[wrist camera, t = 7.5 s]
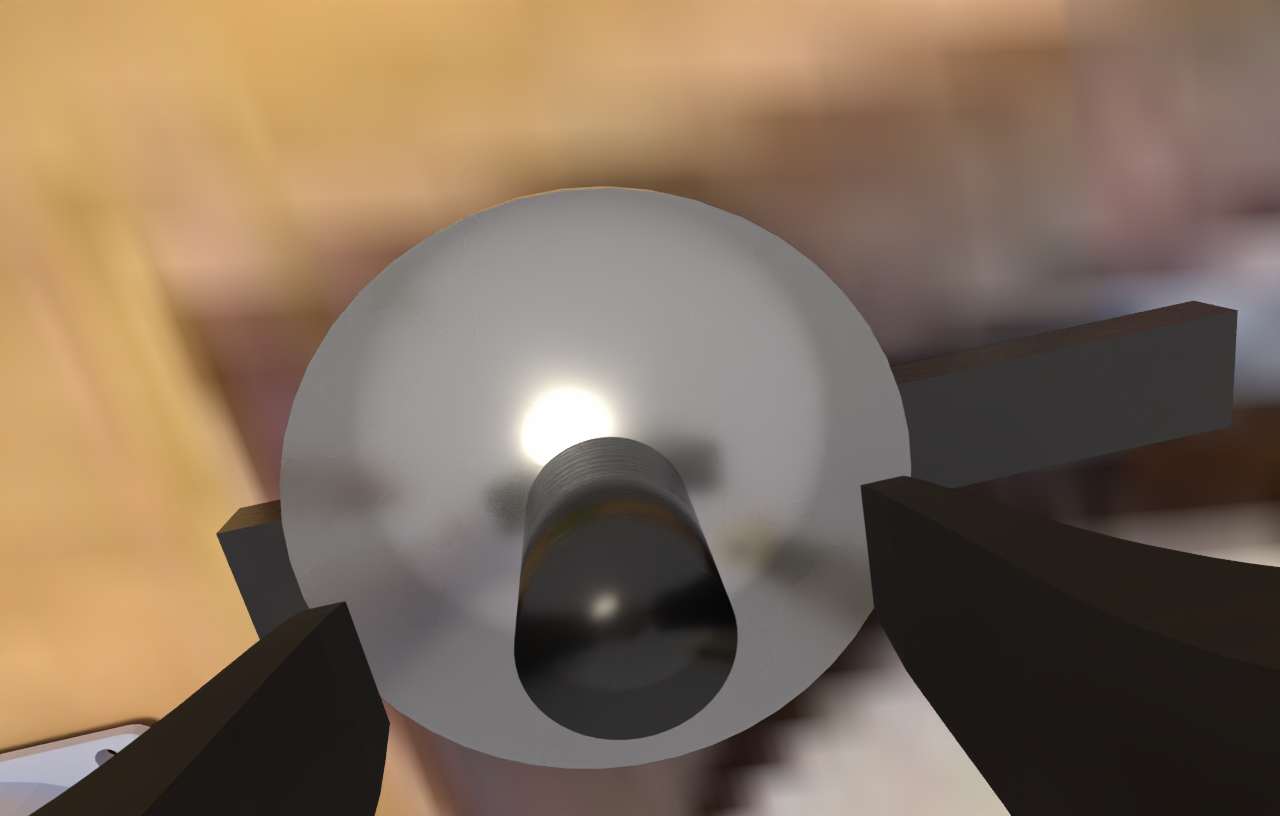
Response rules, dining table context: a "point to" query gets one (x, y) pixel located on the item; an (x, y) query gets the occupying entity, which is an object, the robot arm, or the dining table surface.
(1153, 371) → the cooker base
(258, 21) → the dining table surface
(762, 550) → the lid
